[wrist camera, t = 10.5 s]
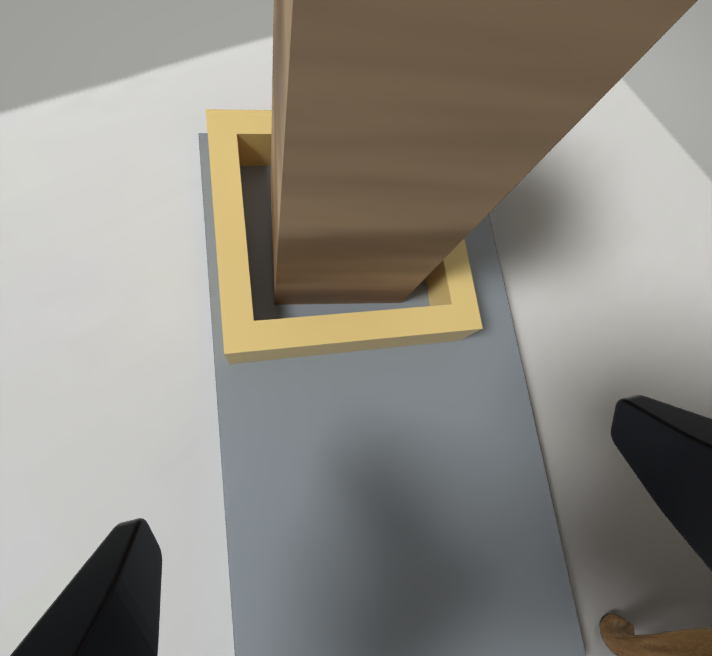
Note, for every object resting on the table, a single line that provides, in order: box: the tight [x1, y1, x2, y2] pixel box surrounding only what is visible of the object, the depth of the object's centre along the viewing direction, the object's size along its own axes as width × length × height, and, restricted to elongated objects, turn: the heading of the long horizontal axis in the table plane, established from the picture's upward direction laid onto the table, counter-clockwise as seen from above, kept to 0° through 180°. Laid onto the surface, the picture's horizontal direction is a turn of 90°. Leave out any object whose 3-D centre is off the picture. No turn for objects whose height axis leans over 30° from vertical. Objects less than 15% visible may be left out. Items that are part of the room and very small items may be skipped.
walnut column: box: [270, 0, 697, 305], centre depth 12 cm, size 5×5×13 cm
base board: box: [198, 109, 586, 656], centre depth 17 cm, size 22×12×3 cm, turn 9°
